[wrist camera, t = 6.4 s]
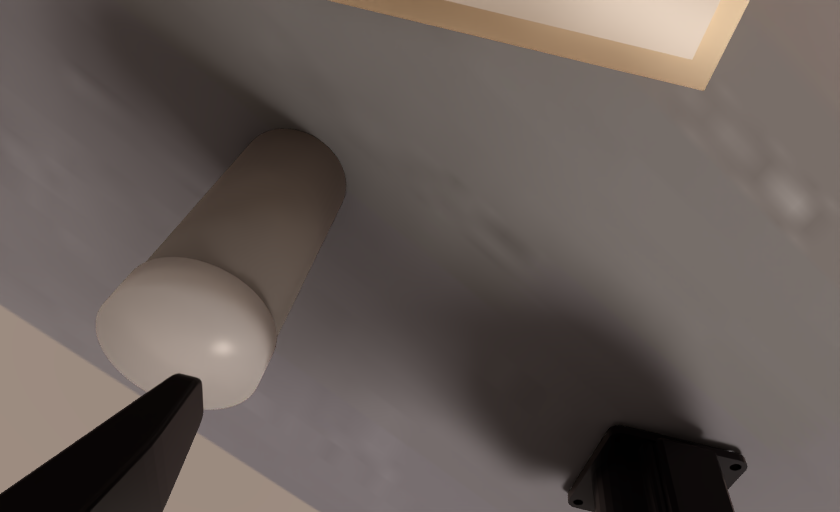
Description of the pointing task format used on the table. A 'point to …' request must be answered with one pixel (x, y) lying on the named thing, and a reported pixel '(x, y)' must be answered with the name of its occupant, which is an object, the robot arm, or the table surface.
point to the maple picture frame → (593, 30)
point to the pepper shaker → (227, 272)
